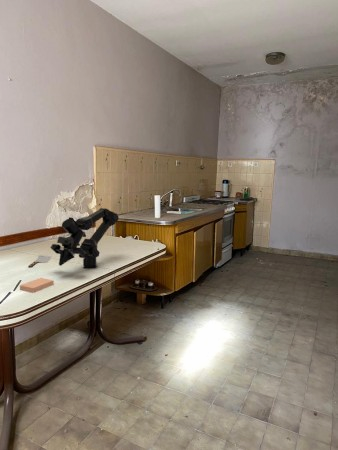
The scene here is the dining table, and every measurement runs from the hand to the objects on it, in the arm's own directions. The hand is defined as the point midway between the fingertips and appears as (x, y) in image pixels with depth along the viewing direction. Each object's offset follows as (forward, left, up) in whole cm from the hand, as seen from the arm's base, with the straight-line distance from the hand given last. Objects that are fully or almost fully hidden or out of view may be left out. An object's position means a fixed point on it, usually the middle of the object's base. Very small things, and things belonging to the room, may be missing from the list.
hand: (59, 265), depth 160 cm
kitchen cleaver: (+19, -30, -7) cm, 36 cm away
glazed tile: (+4, +7, -6) cm, 10 cm away
